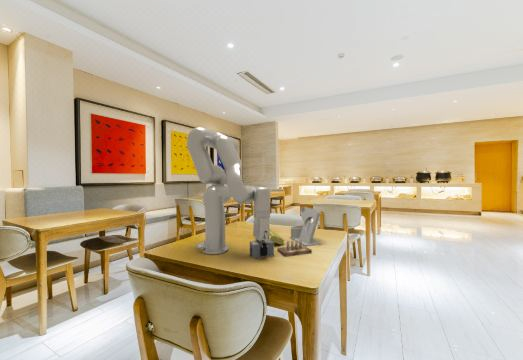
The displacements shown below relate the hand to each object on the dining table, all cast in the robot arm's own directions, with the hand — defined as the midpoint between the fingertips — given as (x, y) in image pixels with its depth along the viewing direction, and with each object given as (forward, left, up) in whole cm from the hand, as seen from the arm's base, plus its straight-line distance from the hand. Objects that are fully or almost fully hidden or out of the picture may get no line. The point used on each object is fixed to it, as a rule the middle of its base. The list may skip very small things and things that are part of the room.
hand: (261, 253), depth 107 cm
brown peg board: (+16, -1, -1) cm, 16 cm away
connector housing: (0, 0, -1) cm, 1 cm away
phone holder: (+30, +14, -1) cm, 33 cm away
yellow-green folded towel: (+11, +19, -2) cm, 22 cm away
